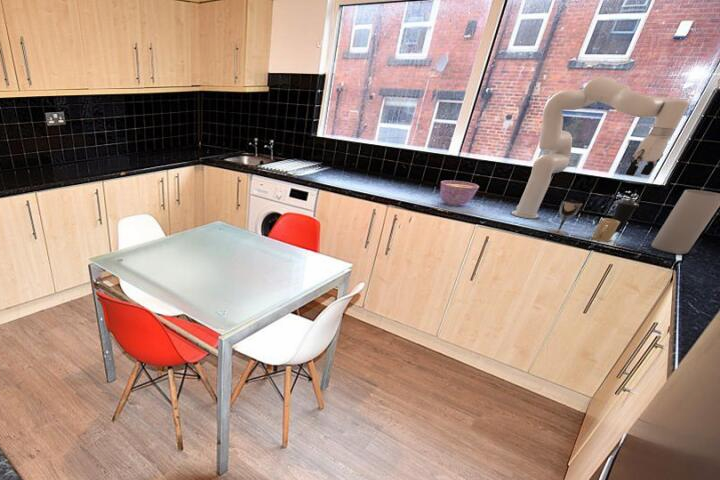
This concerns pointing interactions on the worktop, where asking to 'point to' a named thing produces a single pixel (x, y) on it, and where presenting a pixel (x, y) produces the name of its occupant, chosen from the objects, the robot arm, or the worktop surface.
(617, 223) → the wooden mug
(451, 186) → the bowl of food
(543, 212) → the worktop surface
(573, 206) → the wine glass
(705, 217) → the taupe cylinder
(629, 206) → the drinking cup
